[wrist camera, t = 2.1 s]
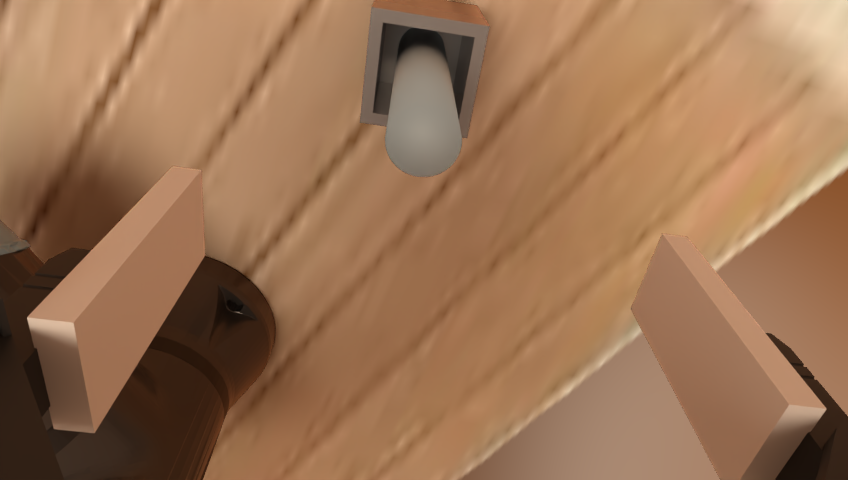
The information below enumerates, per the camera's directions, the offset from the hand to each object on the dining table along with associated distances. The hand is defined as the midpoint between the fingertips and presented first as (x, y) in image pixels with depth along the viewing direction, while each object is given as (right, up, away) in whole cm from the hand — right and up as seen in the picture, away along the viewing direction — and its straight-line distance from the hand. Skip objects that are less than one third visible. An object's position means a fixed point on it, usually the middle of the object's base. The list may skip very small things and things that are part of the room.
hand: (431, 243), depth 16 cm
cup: (0, +14, +24) cm, 27 cm away
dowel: (0, +13, +23) cm, 27 cm away
